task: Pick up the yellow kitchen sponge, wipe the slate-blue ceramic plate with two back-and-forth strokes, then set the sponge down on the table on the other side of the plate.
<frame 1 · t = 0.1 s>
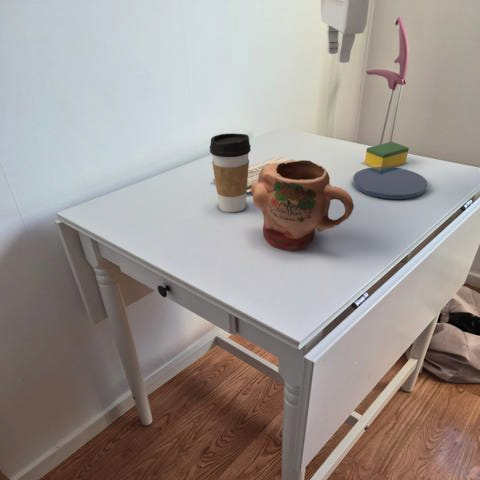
hand: (337, 57, 79), 28 cm above the table, tool pointing down, fingers open, 8 cm apart
coffee cup: (232, 207, 95), on the table
plate: (388, 185, 101), on the table
sculpted ceramic mug: (297, 241, 83), on the table
newspaper: (263, 178, 107), on the table
sponge: (384, 163, 112), on the table
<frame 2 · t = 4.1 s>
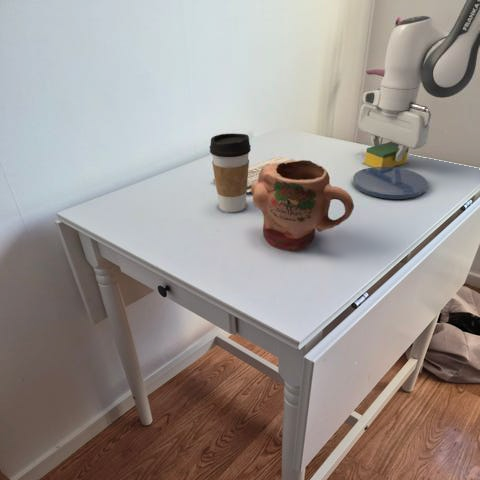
hand: (386, 156, 111), 2 cm above the table, tool pointing down, fingers closed on sponge, 6 cm apart
sponge: (384, 163, 112), on the table, touching gripper
everything else where it was.
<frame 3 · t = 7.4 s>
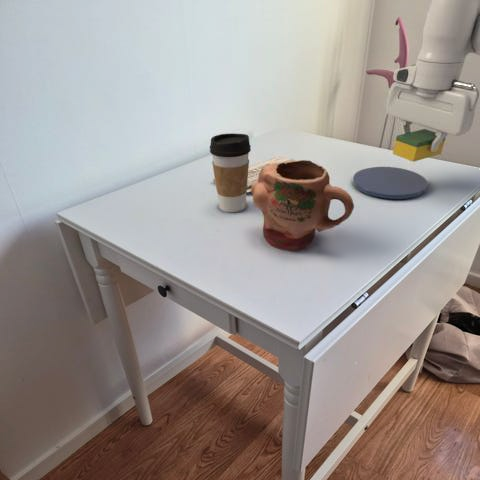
hand: (418, 146, 95), 9 cm above the table, tool pointing down, fingers closed on sponge, 6 cm apart
sponge: (416, 153, 96), point 8 cm above the table, touching gripper
everything else where it was.
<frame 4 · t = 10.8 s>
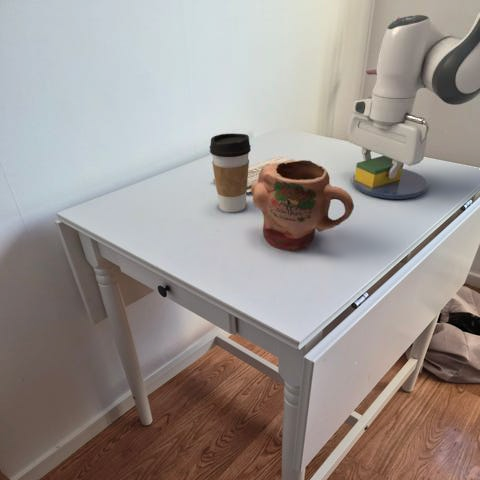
hand: (378, 172, 100), 3 cm above the table, tool pointing down, fingers closed on sponge, 6 cm apart
sponge: (377, 179, 101), point 1 cm above the table, touching gripper
everything else where it was.
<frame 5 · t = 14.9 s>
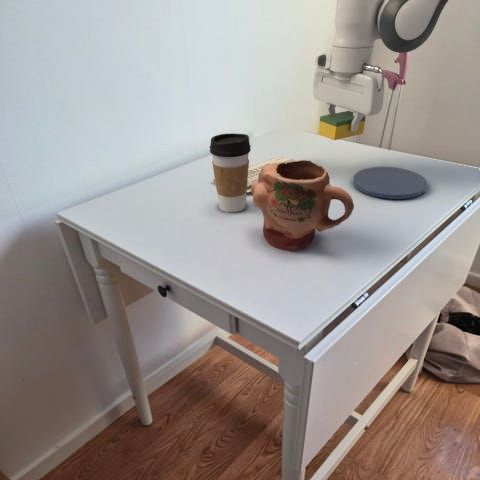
hand: (342, 126, 102), 11 cm above the table, tool pointing down, fingers closed on sponge, 6 cm apart
sponge: (340, 133, 103), point 9 cm above the table, touching gripper
everything else where it was.
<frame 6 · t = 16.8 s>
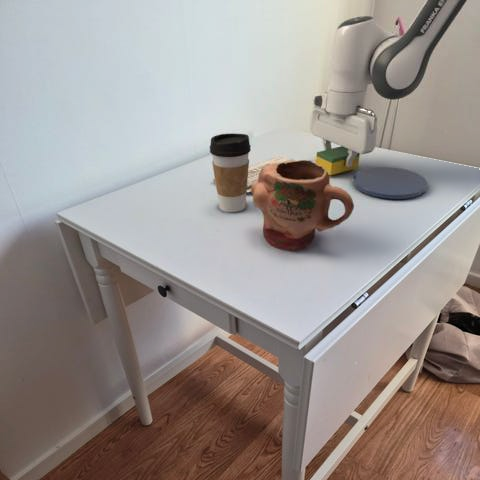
hand: (337, 161, 108), 2 cm above the table, tool pointing down, fingers closed on sponge, 6 cm apart
sponge: (336, 167, 108), point 1 cm above the table, touching gripper
everything else where it was.
when the fingers open (1 cm above the table, at t = 17.6 s): sponge stays where it is, on the table.
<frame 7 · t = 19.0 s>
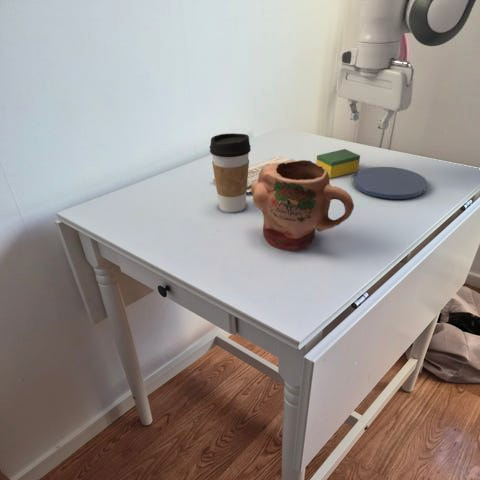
hand: (367, 124, 100), 12 cm above the table, tool pointing down, fingers open, 8 cm apart
sponge: (336, 171, 109), on the table
everything else where it was.
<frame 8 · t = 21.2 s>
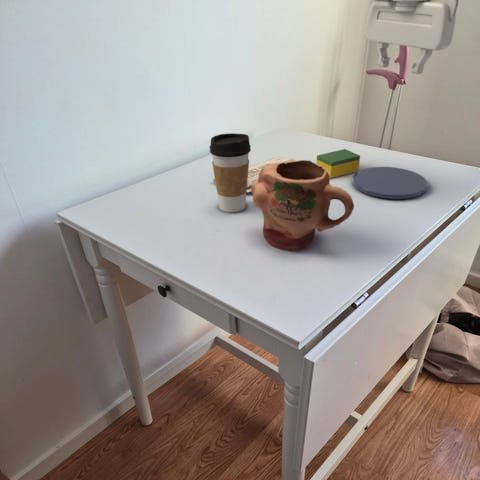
hand: (399, 69, 91), 23 cm above the table, tool pointing down, fingers open, 8 cm apart
nothing on the table moved.
at the end: sponge inside the target area (0.2 cm from its centre), on the table; sponge tilted 0°; the gripper is holding nothing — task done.
